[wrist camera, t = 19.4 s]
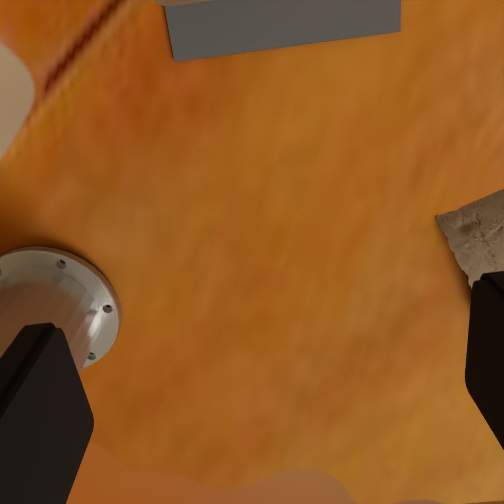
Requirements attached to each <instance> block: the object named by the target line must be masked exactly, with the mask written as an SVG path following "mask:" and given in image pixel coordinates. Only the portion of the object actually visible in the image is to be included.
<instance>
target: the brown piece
mask: <svg viewBox="0 0 504 504" xmlns="http://www.w3.org/2000/svg"><path fill="white" fill-rule="evenodd" d="M208 1H215V0H157V2H158V5H161V6H166V7H170V6H178V5H185V4H193V3H200V2H208Z"/></svg>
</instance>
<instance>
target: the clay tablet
mask: <svg viewBox="0 0 504 504" xmlns="http://www.w3.org/2000/svg"><path fill="white" fill-rule="evenodd" d="M437 223H438V224H439V227H440V229H441V230H442V231H443V232H444V236H446V237H447V238H448V241H447V242H448V244H449V248H450V250H451V251H453V252H455V257H456V260H457V262H458V264H459V266H460V267H461V269H462V270H463V271H464V272H465V274H467V275H468V277H469V281H468V282H469V285H470V286H471V289H472V285H473V282H474V281H476V280H480V277H481V275H482V274H483V273H489V272H498V271H504V189H503V190H500V191H498V192H496V193H493V194H491V195H488V196H486V197H484V198H482V199H479V200H477V201H475V202H472V203H470V204H468V205H465V206H463V207H461V208H460V209H458V210H456V211H452V212H447V213H445V214H442V215H440V216H439V215H437Z"/></svg>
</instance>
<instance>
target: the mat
mask: <svg viewBox="0 0 504 504" xmlns="http://www.w3.org/2000/svg"><path fill="white" fill-rule="evenodd" d="M164 7H165V12H166V18H167V23H168V29H169V35H170V40H171V46H172V51H173V57H174V62H178V61H185V60H193V59H200V58H207V57H215V56H222V55H230V54H237V53H245V52H252V51H259V50H267V49H274V48H282V47H289V46H297V45H304V44H312V43H319V42H326V41H334V40H341V39H349V38H356V37H364V36H371V35H379V34H386V33H393V32H400V12H401V0H215V1H208V2H200V3H193V4H185V5H178V6H170V7H166V6H164Z"/></svg>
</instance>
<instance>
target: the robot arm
mask: <svg viewBox="0 0 504 504" xmlns="http://www.w3.org/2000/svg"><path fill="white" fill-rule="evenodd" d="M62 260H63V261H62ZM64 261H65V262H64ZM120 323H121V311H120V306H119V302H118V299H117V296H116V294H115V292H114V290H113V288H112V286H111V285H110V284H109V282H108V281H107V279H106V278H105V277H104V276H103V275H102V274H101V273H100V272H99V271H98V270H97V269H96V268H95V267H94V266H92V265H91V264H89V263H88V262H87V261H85V260H84V259H82V258H80V257H78V256H76V255H74V254H72V253H69V252H66V251H63V250H59V249H56V248H49V247H42V246H38V247H24V248H19V249H15V250H12V251H10V252H7V253H5V254H3V255H1V256H0V504H66V502H67V499H68V496H69V493H70V491H71V488H72V485H73V483H74V480H75V477H76V475H77V472H78V469H79V467H80V464H81V461H82V459H83V456H84V453H85V451H86V448H87V445H88V443H89V440H90V437H91V435H92V432H93V427H94V419H93V414H92V411H91V408H90V405H89V402H88V400H87V397H86V394H85V391H84V388H83V385H82V382H81V379H80V377H79V374H80V372H81V370H82V368H85V367H87V366H90V365H92V364H93V363H95V362H97V361H98V360H100V359H101V358H102V357H103V356H104V355H105V354H106V353H107V352H108V351H109V349H110V348H111V346H112V345H113V343H114V341H115V339H116V336H117V334H118V331H119V327H120ZM465 382H466V387H467V389H468V392H469V394H470V395H471V397H472V399H473V400H474V402H475V403H476V405H477V407H478V408H479V410H480V412H481V413H482V415H483V417H484V418H485V420H486V422H487V423H488V425H489V427H490V428H491V430H492V431H493V433H494V435H495V436H496V438H497V440H498V441H499V443H500V445H501V446H502V448H503V450H504V271H498V272H489V273H483V274H482V275H481V277H480V280H476V281H474V282H473V285H472V295H471V307H470V319H469V331H468V343H467V356H466V368H465ZM467 504H504V500H503V501H490V502H478V503H467Z"/></svg>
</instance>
